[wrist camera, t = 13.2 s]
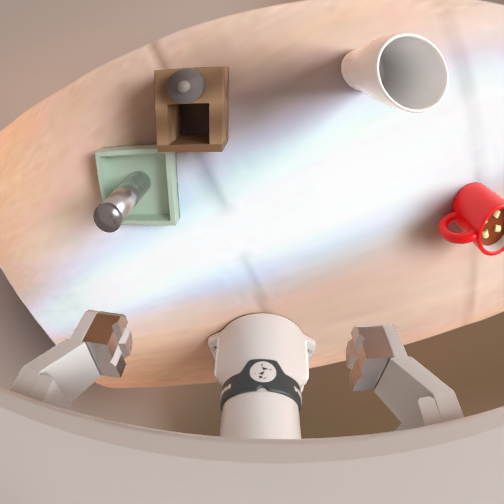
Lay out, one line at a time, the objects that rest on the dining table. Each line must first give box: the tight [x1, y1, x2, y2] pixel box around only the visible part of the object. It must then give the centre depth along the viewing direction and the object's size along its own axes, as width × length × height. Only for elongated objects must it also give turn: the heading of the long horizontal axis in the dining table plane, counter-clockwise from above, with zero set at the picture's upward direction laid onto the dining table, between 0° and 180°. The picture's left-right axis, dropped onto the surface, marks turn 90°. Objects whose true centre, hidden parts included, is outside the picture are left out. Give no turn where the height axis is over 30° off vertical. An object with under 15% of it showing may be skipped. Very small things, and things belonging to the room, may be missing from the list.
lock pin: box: [94, 171, 151, 232], centre depth 36 cm, size 3×3×11 cm
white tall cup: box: [341, 33, 449, 113], centre depth 26 cm, size 7×7×15 cm
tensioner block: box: [154, 67, 229, 152], centre depth 32 cm, size 9×7×8 cm
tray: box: [95, 144, 180, 225], centre depth 40 cm, size 10×10×2 cm
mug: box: [438, 182, 504, 256], centre depth 37 cm, size 8×12×8 cm, turn 114°
